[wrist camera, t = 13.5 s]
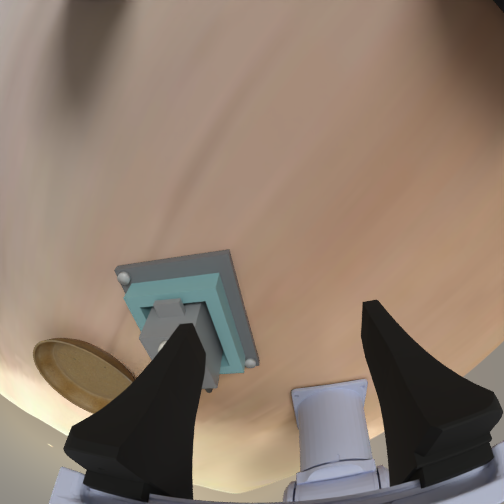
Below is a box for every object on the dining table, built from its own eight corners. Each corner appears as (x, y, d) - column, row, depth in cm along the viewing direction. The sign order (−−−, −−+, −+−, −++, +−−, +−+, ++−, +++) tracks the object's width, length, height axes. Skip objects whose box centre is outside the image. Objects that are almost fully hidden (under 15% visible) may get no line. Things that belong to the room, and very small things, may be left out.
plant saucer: (41, 367, 33) (33, 381, 31) (44, 302, 26) (32, 318, 24) (134, 416, 37) (129, 431, 34) (168, 368, 30) (162, 388, 28)
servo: (233, 371, 28) (228, 417, 24) (193, 373, 28) (184, 416, 24) (199, 279, 23) (184, 328, 18) (150, 285, 23) (128, 331, 19)
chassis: (259, 360, 28) (258, 381, 26) (168, 365, 29) (162, 384, 27) (229, 249, 22) (225, 268, 20) (117, 265, 23) (105, 283, 21)
